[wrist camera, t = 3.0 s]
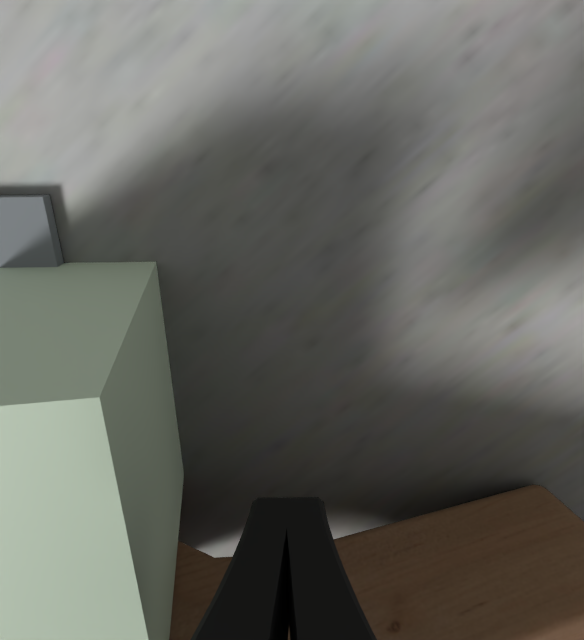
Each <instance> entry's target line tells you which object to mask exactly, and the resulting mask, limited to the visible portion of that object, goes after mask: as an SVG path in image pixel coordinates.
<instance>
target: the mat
mask: <svg viewBox="0 0 584 640" xmlns="http://www.w3.org/2000/svg"><path fill="white" fill-rule="evenodd" d="M63 263H64V261H63V257H62V252H61V247H60V242H59V237H58V233H57V228H56V223H55V218H54V214H53V209H52V204H51V199H50V195H0V268H23V267H59V266H60V265H62V264H63Z"/></svg>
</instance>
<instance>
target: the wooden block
mask: <svg viewBox="0 0 584 640" xmlns="http://www.w3.org/2000/svg"><path fill="white" fill-rule="evenodd" d="M334 543H335V546H336V548H337V551H338V554H339V557H340V559H341V562H342V564H343V567H344V569H345V572H346V574H347V576H348V579H349V581H350V583H351V585H352V588H353V590H354V592H355V595H356V597H357V599H358V602H359V604H360V606H361V608H362V610H363V612H364V614H365V617H366V619H367V621H368V623H369V625H370V627H371V629H372V631H373V633H374V635H375V637H376V639H377V640H584V521H582V520H581V519H580V518H579V517H578V516H577V515H576V514H574V513H573V512H572V511H571V510H570V509H569V508H568V507H566V506H565V505H564V504H563V503H562V502H561V501H560V500H558V499H557V498H556V497H555V496H554V495H553V494H552V493H550V492H549V491H548V490H547V489H546V488H544V487H542V486H540V485H530V486H526V487H522V488H519V489H515V490H511V491H508V492H504V493H501V494H497V495H493V496H490V497H486V498H482V499H479V500H475V501H472V502H468V503H464V504H461V505H457V506H453V507H450V508H446V509H442V510H439V511H435V512H432V513H428V514H424V515H421V516H417V517H413V518H410V519H406V520H403V521H399V522H395V523H392V524H388V525H384V526H381V527H377V528H373V529H370V530H366V531H363V532H359V533H355V534H352V535H348V536H344V537H341V538H337V539H334ZM231 560H232V557H220V558H214V557H212V556H210V555H207V554H205V553H203V552H201V551H199V550H197V549H195V548H192V547H190V546H188V545H186V544H184V543H182V542H180V541H178V547H177V558H176V570H175V581H174V592H173V603H172V615H171V626H170V637H169V640H191V638H192V636H193V634H194V632H195V630H196V629H197V627H198V625H199V623H200V621H201V619H202V618H203V616H204V614H205V612H206V610H207V608H208V607H209V605H210V603H211V601H212V599H213V597H214V595H215V593H216V591H217V589H218V587H219V585H220V583H221V581H222V579H223V576H224V574H225V572H226V570H227V568H228V566H229V564H230V562H231ZM288 640H290V629H289V632H288Z"/></svg>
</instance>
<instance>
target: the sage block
mask: <svg viewBox="0 0 584 640" xmlns="http://www.w3.org/2000/svg"><path fill="white" fill-rule="evenodd" d="M183 480H184V470H183V463H182V455H181V447H180V440H179V432H178V424H177V417H176V409H175V402H174V394H173V386H172V379H171V371H170V363H169V356H168V348H167V341H166V333H165V325H164V318H163V310H162V302H161V295H160V287H159V279H158V272H157V264H156V262H86V263H63V264H62V265H60V266H59V267H23V268H0V640H169V637H170V626H171V615H172V603H173V592H174V581H175V570H176V558H177V547H178V536H179V525H180V513H181V502H182V491H183Z"/></svg>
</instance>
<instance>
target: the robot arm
mask: <svg viewBox="0 0 584 640" xmlns="http://www.w3.org/2000/svg"><path fill="white" fill-rule="evenodd" d="M289 629H290V640H377V639H376V637H375V635H374V633H373V631H372V629H371V627H370V625H369V623H368V621H367V619H366V617H365V614H364V612H363V610H362V608H361V606H360V604H359V602H358V599H357V597H356V595H355V592H354V590H353V588H352V585H351V583H350V581H349V579H348V576H347V574H346V572H345V569H344V567H343V564H342V562H341V559H340V557H339V554H338V551H337V548H336V546H335V543H334V540H333V537H332V534H331V531H330V528H329V524H328V521H327V517H326V513H325V508H324V502H323V501H322V500H321V499H319V498H318V497H297V498H257V499H256V500H255V501H254V502H253V503H252V507H251V511H250V514H249V517H248V520H247V523H246V526H245V528H244V531H243V534H242V536H241V539H240V541H239V543H238V546H237V548H236V550H235V553H234V555H233V557H232V560H231V562H230V564H229V566H228V568H227V570H226V572H225V574H224V576H223V579H222V581H221V583H220V585H219V587H218V589H217V591H216V593H215V595H214V597H213V599H212V601H211V603H210V605H209V607H208V608H207V610H206V612H205V614H204V616H203V618H202V619H201V621H200V623H199V625H198V627H197V629H196V630H195V632H194V634H193V636H192V638H191V640H288V632H289Z"/></svg>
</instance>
